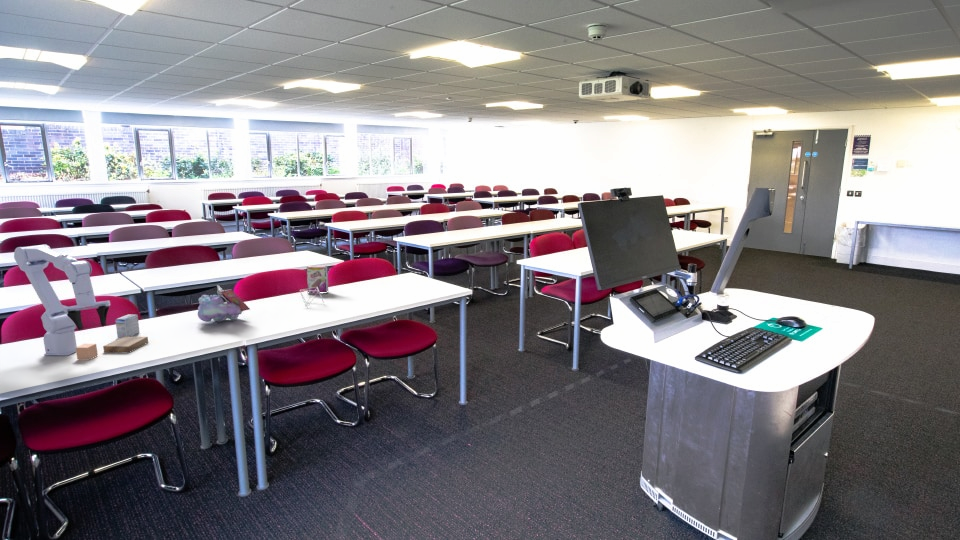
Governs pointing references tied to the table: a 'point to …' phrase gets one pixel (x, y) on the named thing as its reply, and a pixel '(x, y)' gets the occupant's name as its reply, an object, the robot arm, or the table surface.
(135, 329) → the medicine box
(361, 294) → the table surface
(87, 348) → the terracotta block
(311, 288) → the candy bar box
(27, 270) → the robot arm
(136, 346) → the walnut block
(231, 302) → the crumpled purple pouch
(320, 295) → the geometric polyhedron
